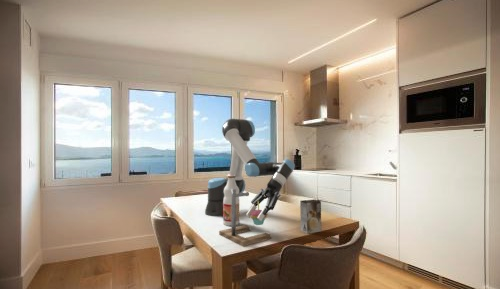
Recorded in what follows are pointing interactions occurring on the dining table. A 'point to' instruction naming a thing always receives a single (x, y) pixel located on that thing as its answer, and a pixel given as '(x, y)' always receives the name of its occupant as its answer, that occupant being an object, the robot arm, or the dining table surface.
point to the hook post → (235, 208)
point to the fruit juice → (230, 201)
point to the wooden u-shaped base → (241, 240)
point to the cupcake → (255, 214)
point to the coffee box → (310, 216)
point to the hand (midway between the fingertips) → (253, 217)
